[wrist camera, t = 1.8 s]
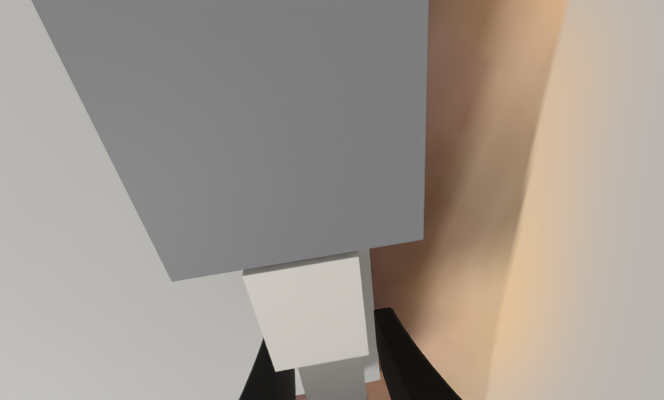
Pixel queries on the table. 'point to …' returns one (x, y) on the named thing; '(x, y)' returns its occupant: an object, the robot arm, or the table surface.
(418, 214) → the gate
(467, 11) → the table surface
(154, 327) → the mat
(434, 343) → the table surface
